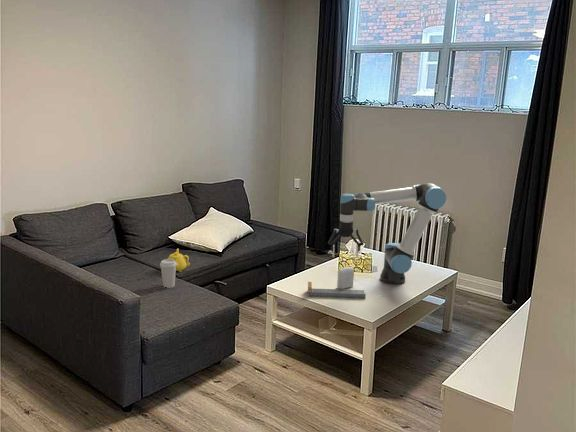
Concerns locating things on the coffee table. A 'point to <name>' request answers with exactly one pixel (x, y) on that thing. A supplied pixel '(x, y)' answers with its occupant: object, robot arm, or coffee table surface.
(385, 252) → the robot arm
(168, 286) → the coffee cup
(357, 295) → the rail
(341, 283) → the photo printer
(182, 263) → the teapot
